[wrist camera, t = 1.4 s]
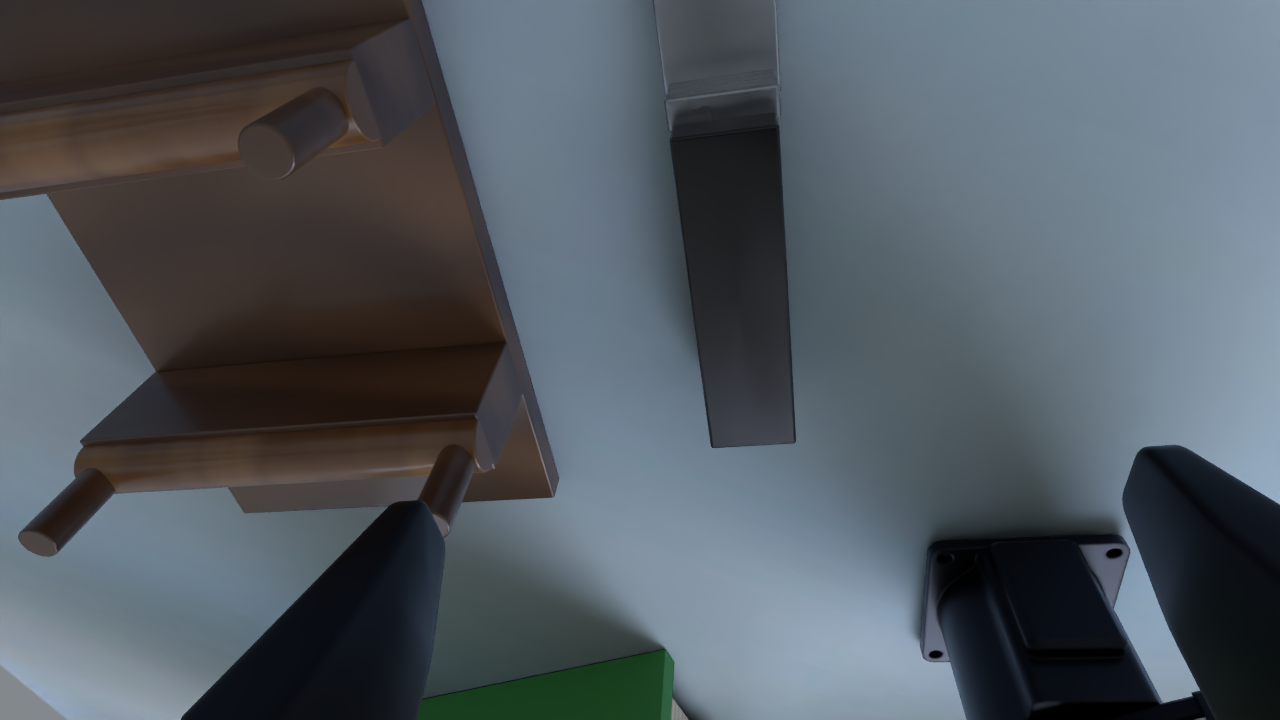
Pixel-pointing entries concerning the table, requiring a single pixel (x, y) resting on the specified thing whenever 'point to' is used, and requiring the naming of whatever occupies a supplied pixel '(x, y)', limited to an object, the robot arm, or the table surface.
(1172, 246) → the table surface
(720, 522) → the table surface
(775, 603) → the table surface
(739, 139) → the kitchen knife
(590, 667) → the hardback book
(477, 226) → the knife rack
